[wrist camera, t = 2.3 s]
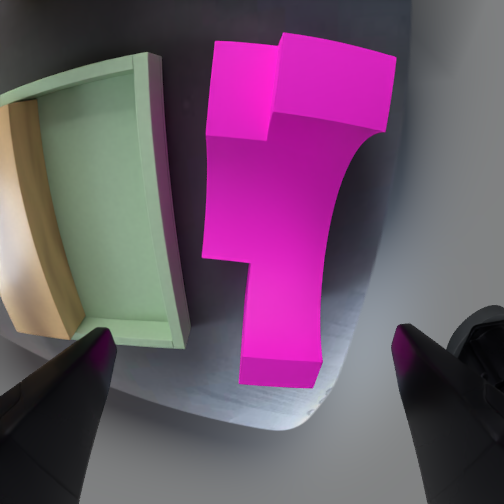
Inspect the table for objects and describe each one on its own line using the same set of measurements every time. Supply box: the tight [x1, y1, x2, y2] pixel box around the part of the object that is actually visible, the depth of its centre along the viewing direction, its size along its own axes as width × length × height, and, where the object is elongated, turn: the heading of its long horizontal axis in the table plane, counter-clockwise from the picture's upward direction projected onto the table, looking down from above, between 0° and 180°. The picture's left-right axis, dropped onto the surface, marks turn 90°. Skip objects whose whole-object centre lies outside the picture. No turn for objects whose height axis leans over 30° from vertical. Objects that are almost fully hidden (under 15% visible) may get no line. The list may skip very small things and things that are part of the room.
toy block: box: [202, 32, 396, 388], centre depth 15 cm, size 15×6×8 cm, turn 174°
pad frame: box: [0, 52, 191, 349], centre depth 18 cm, size 15×18×2 cm
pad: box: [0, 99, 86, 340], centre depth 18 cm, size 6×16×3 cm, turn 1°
